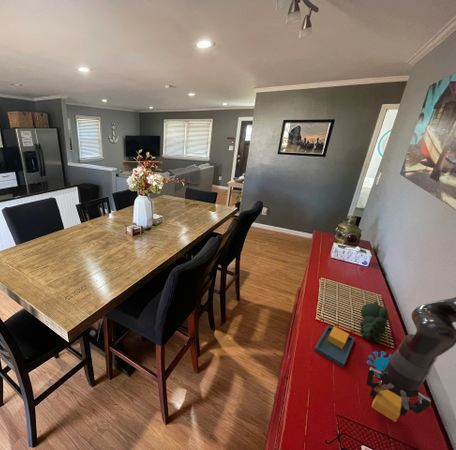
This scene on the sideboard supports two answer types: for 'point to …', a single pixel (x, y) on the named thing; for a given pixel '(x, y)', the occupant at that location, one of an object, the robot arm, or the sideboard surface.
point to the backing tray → (333, 348)
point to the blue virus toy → (379, 361)
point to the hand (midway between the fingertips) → (385, 404)
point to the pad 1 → (338, 337)
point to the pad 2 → (388, 404)
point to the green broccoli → (373, 321)
